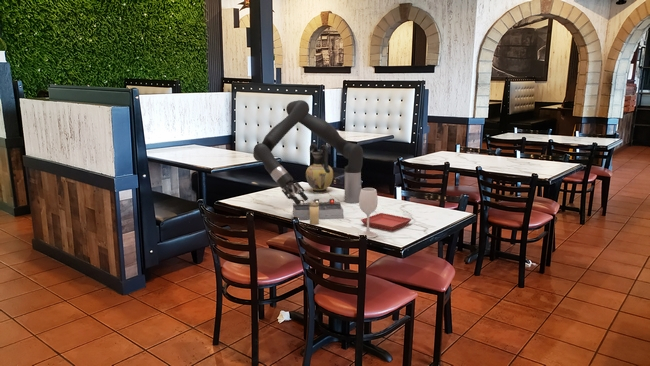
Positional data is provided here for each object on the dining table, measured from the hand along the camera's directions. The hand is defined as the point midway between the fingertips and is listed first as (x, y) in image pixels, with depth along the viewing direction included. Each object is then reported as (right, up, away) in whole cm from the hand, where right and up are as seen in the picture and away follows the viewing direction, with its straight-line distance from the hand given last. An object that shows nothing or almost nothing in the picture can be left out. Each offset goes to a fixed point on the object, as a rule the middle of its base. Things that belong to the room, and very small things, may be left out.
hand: (303, 201), depth 244 cm
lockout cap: (+6, -10, 0) cm, 12 cm away
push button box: (+7, -8, +13) cm, 17 cm away
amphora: (+7, +4, +69) cm, 69 cm away
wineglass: (+30, -14, -19) cm, 38 cm away
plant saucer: (+40, -12, -3) cm, 42 cm away
